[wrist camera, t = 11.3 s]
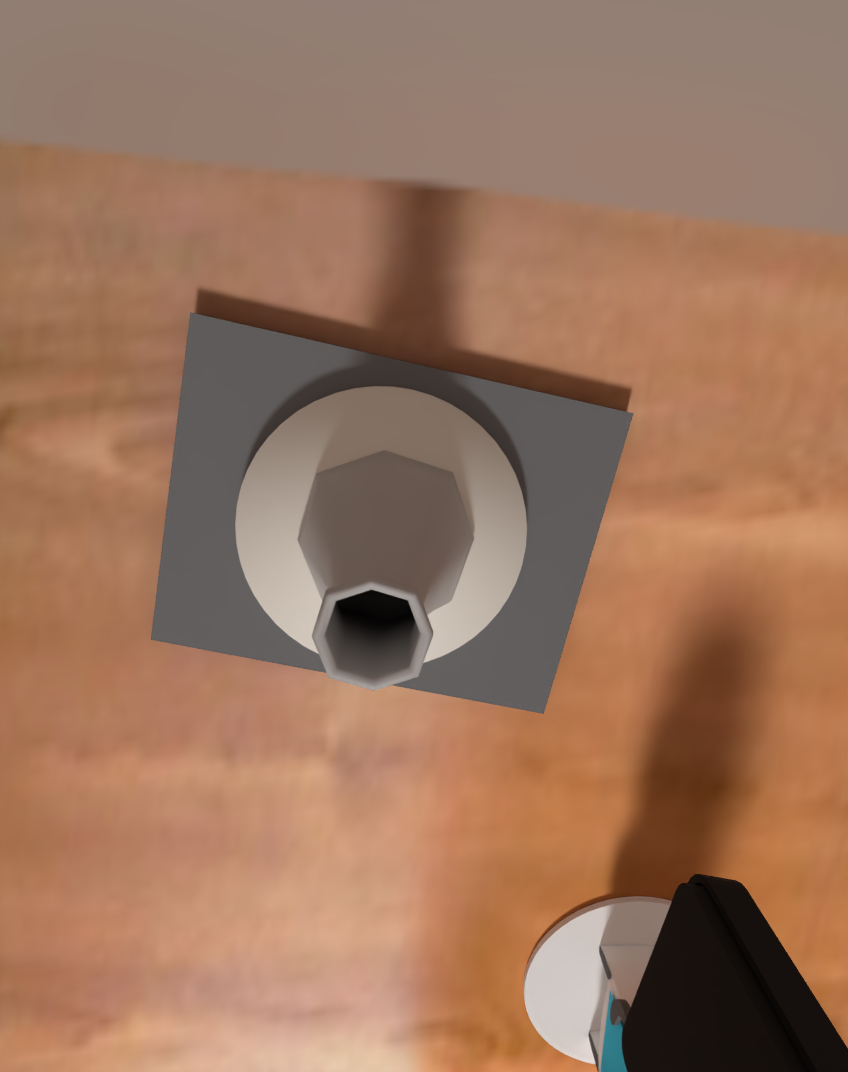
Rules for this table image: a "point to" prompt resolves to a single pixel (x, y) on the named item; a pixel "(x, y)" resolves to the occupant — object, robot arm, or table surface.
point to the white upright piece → (592, 977)
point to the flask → (382, 563)
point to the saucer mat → (355, 432)
